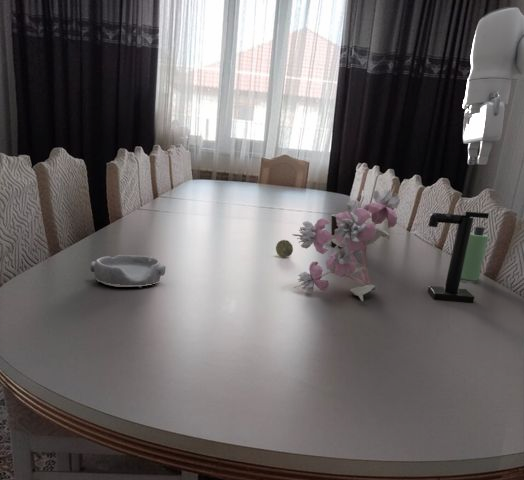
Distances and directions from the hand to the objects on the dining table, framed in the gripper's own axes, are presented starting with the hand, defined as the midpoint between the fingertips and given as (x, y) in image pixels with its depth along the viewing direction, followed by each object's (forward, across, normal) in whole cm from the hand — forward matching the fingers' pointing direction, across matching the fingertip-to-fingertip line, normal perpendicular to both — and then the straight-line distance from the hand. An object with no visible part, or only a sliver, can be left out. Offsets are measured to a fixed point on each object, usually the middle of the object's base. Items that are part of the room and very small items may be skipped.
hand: (476, 164), depth 116 cm
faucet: (+30, -4, +4) cm, 30 cm away
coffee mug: (+27, +50, +27) cm, 63 cm away
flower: (+29, -13, +30) cm, 43 cm away
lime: (+27, +23, +46) cm, 58 cm away
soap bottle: (+30, +20, -7) cm, 36 cm away
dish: (+26, -21, +75) cm, 83 cm away
